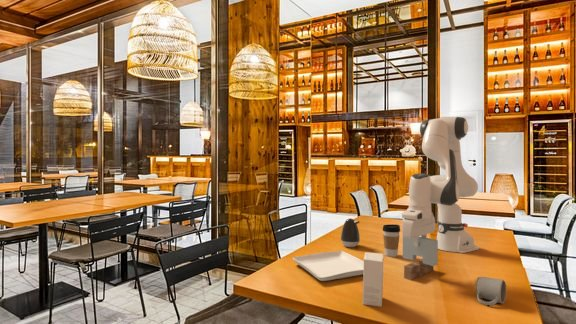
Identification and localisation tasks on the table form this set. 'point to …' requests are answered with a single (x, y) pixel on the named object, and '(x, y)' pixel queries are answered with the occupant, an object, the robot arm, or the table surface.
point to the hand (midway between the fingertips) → (419, 245)
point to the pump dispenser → (350, 233)
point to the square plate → (331, 265)
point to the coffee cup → (391, 239)
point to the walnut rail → (416, 270)
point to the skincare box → (373, 279)
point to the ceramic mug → (490, 290)
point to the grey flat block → (421, 250)
